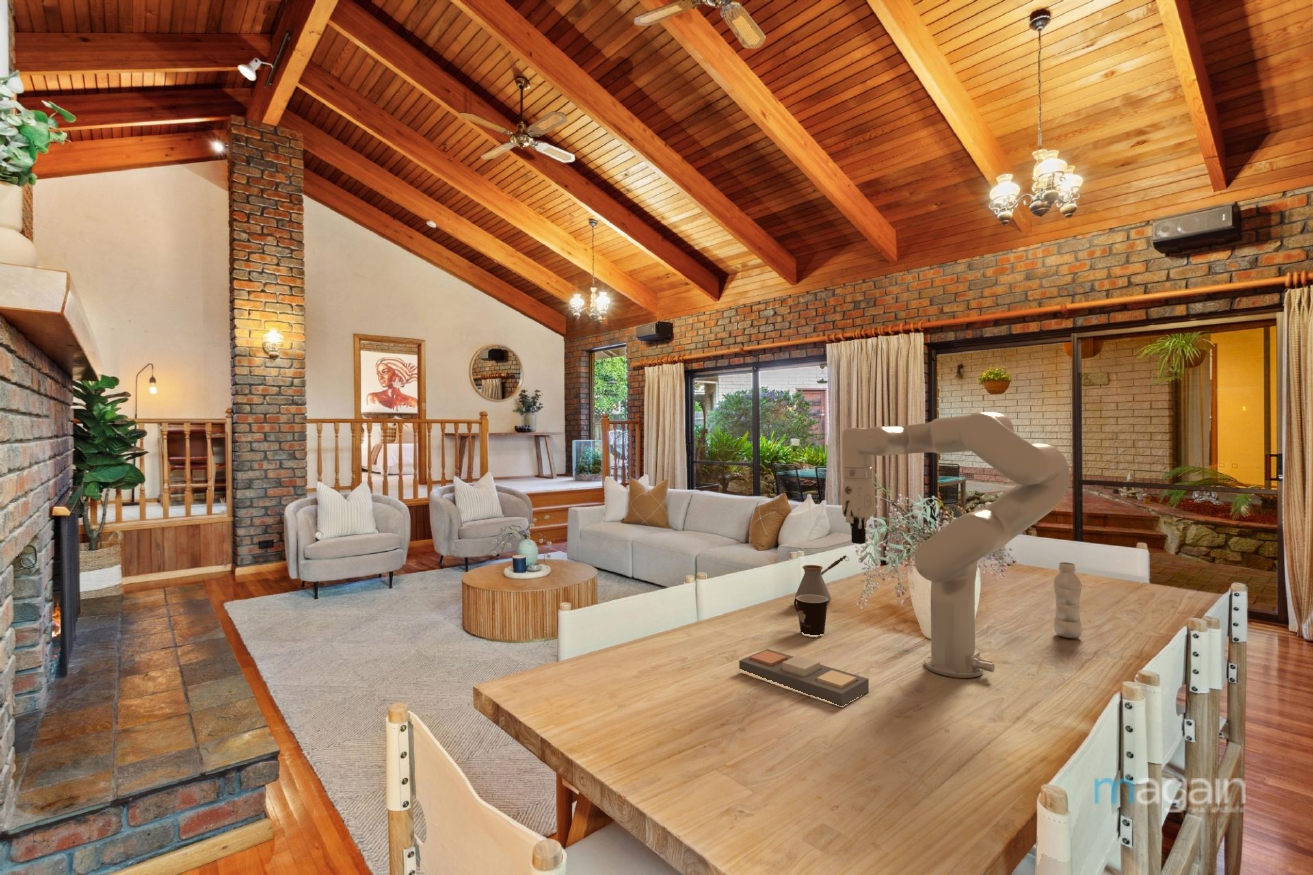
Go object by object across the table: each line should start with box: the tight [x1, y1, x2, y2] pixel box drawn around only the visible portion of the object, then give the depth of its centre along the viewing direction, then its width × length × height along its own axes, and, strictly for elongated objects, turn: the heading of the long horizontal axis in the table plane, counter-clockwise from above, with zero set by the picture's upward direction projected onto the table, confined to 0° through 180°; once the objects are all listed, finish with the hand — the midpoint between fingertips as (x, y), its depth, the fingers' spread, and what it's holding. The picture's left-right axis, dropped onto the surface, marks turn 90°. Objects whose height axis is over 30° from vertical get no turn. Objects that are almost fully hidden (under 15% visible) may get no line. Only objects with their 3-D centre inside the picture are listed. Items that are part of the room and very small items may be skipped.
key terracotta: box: [751, 651, 787, 667], centre depth 148 cm, size 6×6×2 cm
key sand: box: [817, 670, 856, 689], centre depth 135 cm, size 6×6×2 cm
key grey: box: [782, 655, 821, 677], centre depth 141 cm, size 6×6×2 cm
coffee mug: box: [793, 595, 828, 635], centre depth 176 cm, size 12×9×10 cm
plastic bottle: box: [1053, 561, 1083, 639], centre depth 169 cm, size 6×7×20 cm
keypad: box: [738, 648, 870, 706], centre depth 141 cm, size 27×11×3 cm, turn 43°
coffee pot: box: [794, 555, 850, 606], centre depth 205 cm, size 21×12×15 cm, turn 119°
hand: (858, 543), depth 165 cm, fingers closed
